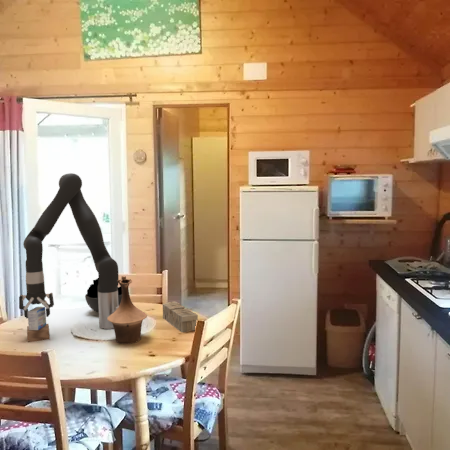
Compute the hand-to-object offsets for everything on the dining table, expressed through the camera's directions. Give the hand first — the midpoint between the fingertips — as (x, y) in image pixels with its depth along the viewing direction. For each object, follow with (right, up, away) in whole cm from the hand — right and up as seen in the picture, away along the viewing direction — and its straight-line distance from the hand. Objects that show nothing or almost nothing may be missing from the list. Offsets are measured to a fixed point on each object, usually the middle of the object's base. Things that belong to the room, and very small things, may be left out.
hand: (37, 317), depth 217 cm
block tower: (+61, -7, +18) cm, 64 cm away
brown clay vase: (+41, -9, -4) cm, 42 cm away
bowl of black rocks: (+21, -5, +40) cm, 45 cm away
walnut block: (0, -10, +1) cm, 10 cm away
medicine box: (0, -5, 0) cm, 5 cm away
